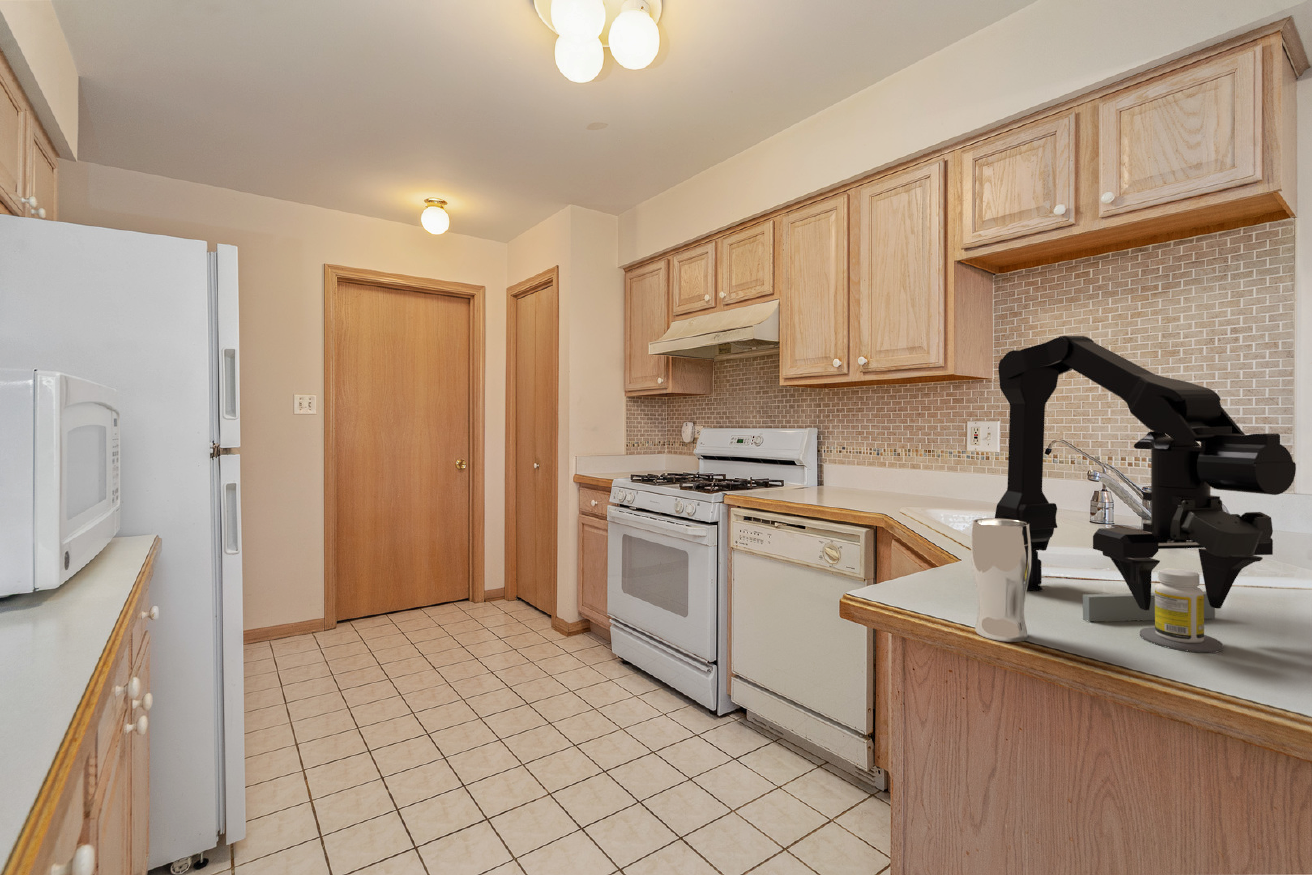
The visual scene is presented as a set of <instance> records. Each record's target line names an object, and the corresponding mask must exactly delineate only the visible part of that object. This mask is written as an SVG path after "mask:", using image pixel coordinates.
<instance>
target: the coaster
mask: <svg viewBox="0 0 1312 875" xmlns="http://www.w3.org/2000/svg"><path fill="white" fill-rule="evenodd" d="M1139 636H1140V637H1141V638H1142V637H1143V638H1144V639H1143V638H1142V639H1143V640H1144V641H1146V640H1147V642H1148V643H1151V642H1152V643H1151V644H1154V643H1155V644H1154V645H1157V644H1158V645H1157V646H1160V647H1163V646H1166V647H1165V648H1167V647H1169V649H1172V648H1174V649H1173V650H1177V649H1179V650H1178V651H1182V650H1188V651H1187V652H1189V651H1194V652H1193V653H1200V652H1212V653H1216V652H1215V651H1219V652H1220V650H1221V651H1222V650H1223V648H1224V646H1223V643H1222V642H1221V641H1220V640H1219V639H1217V638H1214V637H1212V636H1210V635H1206V634H1204V641H1202V642H1200V643H1183V642H1176V641H1172V640H1168V639H1165V638H1163V637H1160V636H1158V635H1157V634H1156V632H1155V626H1152V627H1150V626H1149V627H1144V628H1142V629H1140V630H1139Z"/></svg>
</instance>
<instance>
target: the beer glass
mask: <svg viewBox="0 0 1312 875" xmlns="http://www.w3.org/2000/svg"><path fill="white" fill-rule="evenodd" d="M970 542H971V543H970V544H971V545H970V555H971V559H970V560H971V568H972V573H973V580H974V584H975V589H976V594H977V603H978V612H977V617H976V623H975V628H974V629H975V633H977V635H979V636H980V637H983V638H986V639H988V640H992V641H998V642H1005V643H1017V642H1018V643H1019V642H1024V641H1026V640H1027V639H1028V638H1029V636H1028V635H1029V634H1028V630H1027V625H1026V619H1025V602H1026V596H1027V592H1028V590H1027V587H1028V582H1029V577H1030V570H1031V541H1030V531H1029V523H1027V522H1024V521H1019V520H1011V519H997V518H995V517H993V518H991V517H990V518H976V519H973V520H972V530H971V540H970Z"/></svg>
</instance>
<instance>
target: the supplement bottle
mask: <svg viewBox="0 0 1312 875" xmlns="http://www.w3.org/2000/svg"><path fill="white" fill-rule="evenodd" d="M1157 579H1158V582H1160V583H1157V584H1156V585H1155V586H1154V593H1155V620H1154V627H1155V632H1156V634H1157V635H1158V636H1160V637H1163V638H1165V639H1168V640H1172V641H1176V642H1183V643H1200V642H1202V641H1204V635H1205V619H1204V593H1203V592H1204V591H1203V590H1202V589H1201V588H1199V586H1200V584H1201V583H1200V581H1201V580H1200V573H1198V572H1196V571H1193V570H1187V569H1184V568H1183V569H1181V568H1167V567H1166V568H1159V569H1158V572H1157Z"/></svg>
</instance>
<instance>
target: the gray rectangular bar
mask: <svg viewBox="0 0 1312 875" xmlns="http://www.w3.org/2000/svg"><path fill="white" fill-rule="evenodd" d="M1203 593H1204V620H1207V619H1208V620H1210V619H1213V620H1214V619H1216V611H1215V610H1216V608H1213V607H1211V606H1210V604H1209V601H1208V597H1207V594H1206V590H1204V591H1203ZM1082 620H1084V621H1086V620H1088V621H1105V622H1131V620H1137V622H1138V621H1140V620H1142V621H1155V592H1151V602H1150V609H1149V610H1147V611H1146V610H1143V609H1140V608H1139V606H1138V604H1137V602H1136V600H1135V598H1134V596H1133V595H1132V593H1131V592H1130V593H1099V594H1091V593H1089V594H1082ZM1126 620H1128V621H1126ZM1088 621H1087V622H1088Z"/></svg>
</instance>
